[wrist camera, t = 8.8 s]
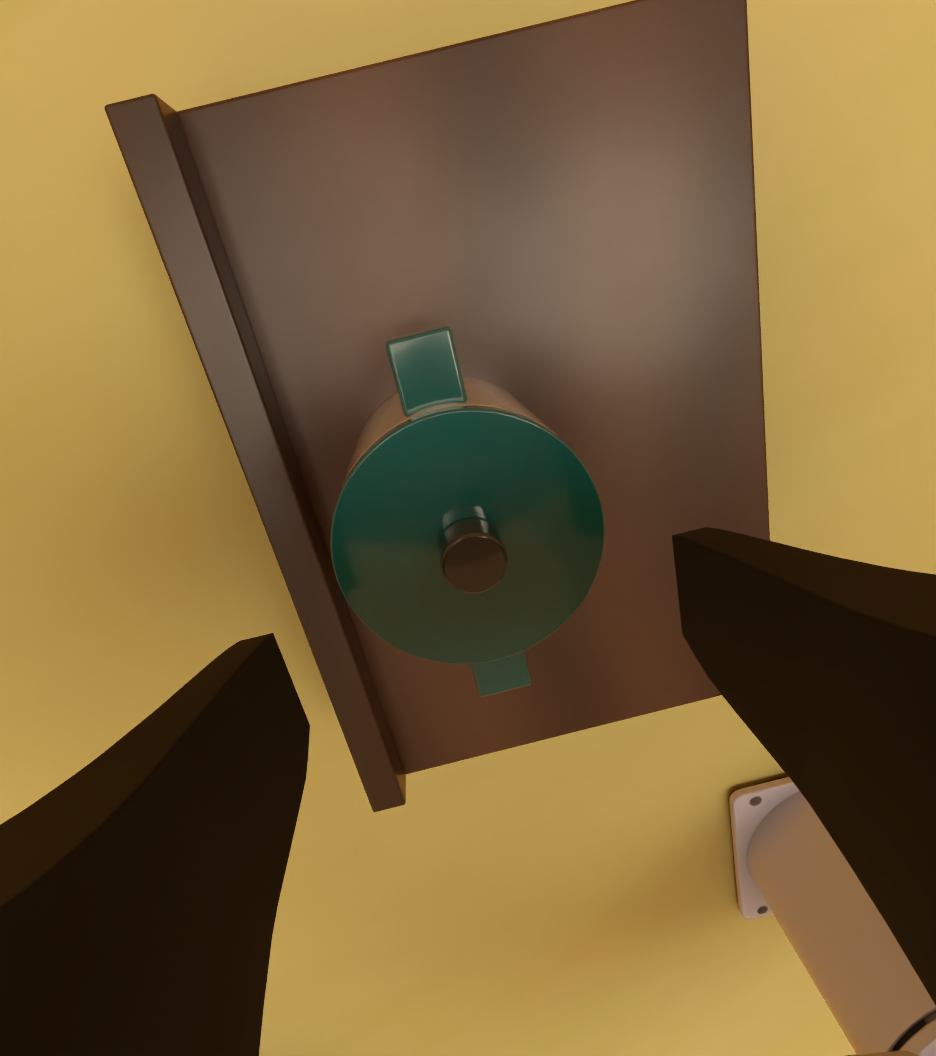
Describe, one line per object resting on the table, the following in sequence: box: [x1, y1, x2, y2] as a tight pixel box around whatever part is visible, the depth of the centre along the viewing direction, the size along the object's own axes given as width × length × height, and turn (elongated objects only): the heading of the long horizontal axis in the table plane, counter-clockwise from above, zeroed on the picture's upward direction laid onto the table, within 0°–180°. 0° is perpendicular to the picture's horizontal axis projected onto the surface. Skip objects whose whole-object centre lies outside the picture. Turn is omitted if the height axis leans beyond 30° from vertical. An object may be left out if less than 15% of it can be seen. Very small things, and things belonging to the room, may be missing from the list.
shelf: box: [105, 0, 770, 812], centre depth 17 cm, size 13×18×6 cm
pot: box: [330, 325, 605, 697], centre depth 13 cm, size 5×8×5 cm
